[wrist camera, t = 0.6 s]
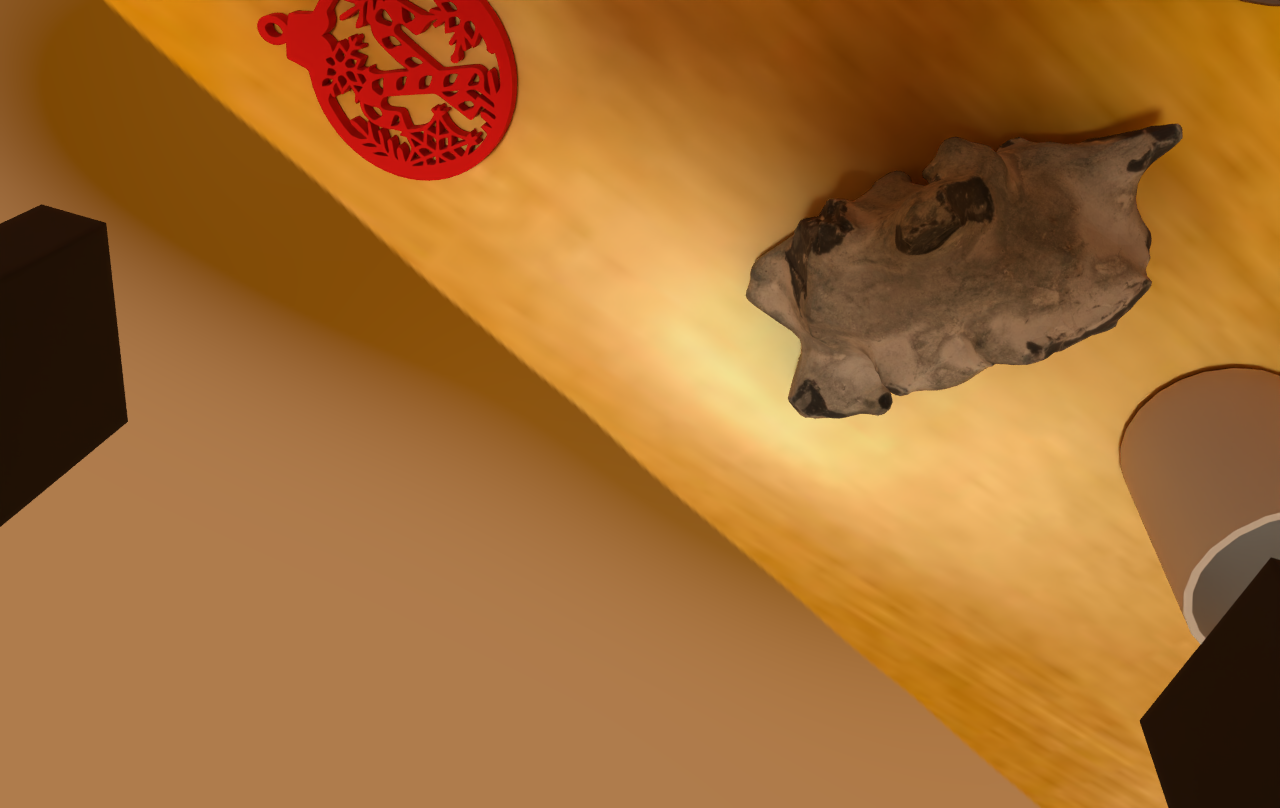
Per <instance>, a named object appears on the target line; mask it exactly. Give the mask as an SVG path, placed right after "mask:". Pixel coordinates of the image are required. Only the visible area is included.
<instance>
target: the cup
mask: <svg viewBox="0 0 1280 808" xmlns="http://www.w3.org/2000/svg"><path fill="white" fill-rule="evenodd" d="M1120 459H1121V470H1122V473H1123V476H1124V479H1125V482H1126V484H1127V487H1128V489H1129V491H1130V494H1131V496H1132V499H1133V501H1134V503H1135V506H1136V508H1137V510H1138V512H1139V515H1140V517H1141V519H1142V522H1143V524H1144V526H1145V528H1146V531H1147V533H1148V535H1149V538H1150V540H1151V542H1152V545H1153V547H1154V549H1155V551H1156V554H1157V556H1158V558H1159V561H1160V563H1161V565H1162V568H1163V570H1164V572H1165V574H1166V577H1167V579H1168V581H1169V584H1170V586H1171V588H1172V591H1173V593H1174V595H1175V597H1176V600H1177V602H1178V604H1179V607H1180V609H1181V611H1182V613H1183V616H1184V618H1185V620H1186V623H1187V625H1188V627H1189V630H1190V632H1191V634H1192V635H1193V636H1194V637H1195V638H1196V640H1197V641H1198V642H1199V643H1200V644H1202V642H1203V641H1204V640H1205V639H1206V637H1207V636H1208V635H1209V634H1210V632H1211V631H1212V630H1213V629H1214V627H1215V626H1216V625H1217V624H1218V622H1219V621H1220V620H1221V619H1222V617H1223V616H1224V615H1225V614H1226V612H1227V611H1228V610H1229V609H1230V607H1231V606H1232V605H1233V604H1234V602H1235V601H1236V600H1237V599H1238V597H1239V596H1240V595H1241V594H1242V593H1243V591H1244V590H1245V589H1246V588H1247V586H1248V585H1249V584H1250V583H1251V581H1252V580H1253V579H1254V578H1255V576H1256V575H1257V574H1258V573H1259V571H1260V570H1261V569H1262V568H1263V566H1264V565H1265V564H1266V563H1267V561H1268V560H1269V559H1270V558H1271V557H1272V558H1276V559H1279V560H1280V376H1279V375H1276V374H1273V373H1270V372H1267V371H1264V370H1255V369H1242V368H1231V369H1223V370H1215V371H1207V372H1202V373H1199V374H1197V375H1194V376H1191V377H1188V378H1185V379H1182V380H1179V381H1178V382H1176V383H1174V384H1172V385H1170V386H1169V387H1167V388H1165V389H1163V390H1162V391H1160V392H1158V393H1157V394H1156V395H1155V396H1154V397H1153V398H1152V399H1151V400H1149V401H1148V402H1147V403H1146V404H1145V405H1144V406H1143V407H1142V408H1141V409H1140V410H1139V411H1138V412H1137V414H1136V415H1135V417H1134V418H1133V420H1132V421H1131V423H1130V424H1129V426H1128V427H1127V429H1126V431H1125V435H1124V438H1123V441H1122V444H1121V447H1120Z"/></svg>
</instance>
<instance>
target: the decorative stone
mask: <svg viewBox="0 0 1280 808" xmlns="http://www.w3.org/2000/svg"><path fill="white" fill-rule="evenodd" d="M1181 139H1182V127H1181V126H1180V125H1179V124H1168V125H1161V126H1150V127H1147V128H1144V129H1141V130H1136V131H1131V132H1126V133H1122V134H1117V135H1112V136H1107V137H1101V138H1094V139H1088V140H1085V141H1083V142H1081V143H1078V144H1061V143H1055V142H1040V143H1035V142H1031V141H1028V140H1026V139H1024V138H1020V137H1018V138H1014V139H1010V140H1008V141H1007V142H1005V143H1004V144H1003V145H1001V146H1000V147H999V149H998V150H997V152H995V151H994V150H993V149H992V148H991V147H990V146H987V145H983V144H978V143H974V142H970V141H967V140H964V139H961V138H958V137H952V138H949V139H946V140H944V142H943V143H942V144H941V145H940V147H939V150H938V152H937V154H936V156H935V158H934V159H933V161H932V162H931V163H930V164H929V165H928V166H927V167H926V168H925V169H924V171H923V173H922V175H923V178H924V179H926V180H927V181H928V183H929V184H928V185H920V184H914V183H912V182H911V179H910V177H909V176H908V175H907V174H906V173H904V172H902V171H895V172H892V173H889V174H887V175H885V176H884V177H882V178H881V179H879V180H878V181H876V182H875V184H874V185H873V188H872V189H870V190H869V191H868V192H866V193H865V194H864V195H863V196H861V197H859V198H858V199H856V200H855V201H849V200H845V199H830V198H829V200H828V201H827V202H826V204H825V206H824V207H823V209H822V211H821V213H820V214H819V216H817V217H811V218H805V219H803V220H801V221H800V222H799V224H798V226H797V228H796V230H795V232H794V234H793V235H792V236H791V237H789V238H788V239H787V240H785V241H784V242H782V243H781V244H779V245H778V246H776V247H774V248H773V249H771V250H770V251H768V252H766V253H765V254H763V255H762V256H761V257H760V258H759V259H758V260H757V261H756V262H755V263H754V265H753V266H752V269H751V278H750V283H749V286H748V289H747V291H746V297H747V299H748V300H749V301H750V302H751V303H752V304H754V305H755V306H756V307H757V308H759V309H760V310H762V311H763V312H765V313H766V314H768V315H769V316H770V317H772V318H773V319H775V320H776V321H778V322H779V323H780V324H782V325H783V326H785V327H787V328H788V329H790V330H791V331H792V332H793V333H794V334H795V335H796V336H797V337H798V338H799V339H800V341H801V356H800V357H799V362H798V365H797V368H796V371H795V374H794V377H793V381H792V384H791V388H790V392H789V396H788V400H789V402H790V403H791V404H792V406H793V407H794V408H795V409H796V410H797V412H798V413H799V414H800V415H802V416H803V417H805V418H806V417H810V418H845V417H849V416H853V415H857V414H872V415H882V414H885V413H886V412H887V411H888V410H889V409H890V407H891V405H892V396H891V393H893V394H895V395H898V396H903V395H908V394H910V393H911V392H914V391H923V390H942V389H947V388H951V387H954V386H957V385H959V384H962V383H964V382H966V381H968V380H969V379H971V378H972V377H974V376H975V375H977V374H978V373H980V372H981V371H983V370H984V369H986V368H987V367H991V366H993V365H994V364H1009V365H1028V364H1032V363H1036V362H1039V361H1041V360H1044V359H1046V358H1048V357H1049V356H1050V355H1052V354H1053V353H1055V352H1058V351H1062V350H1064V349H1066V348H1068V347H1070V346H1072V345H1074V344H1076V343H1078V342H1080V341H1082V340H1084V339H1086V338H1088V337H1090V336H1091V335H1095V334H1099V333H1102V332H1105V331H1108V330H1110V329H1112V328H1113V327H1115V326H1116V324H1117V321H1118V320H1119V319H1120V318H1121V317H1122V316H1123V315H1124V314H1125V313H1127V312H1128V311H1129V310H1130V309H1131V308H1132V307H1133V306H1134V304H1135V303H1136V302H1137V301H1138V300H1139V299H1140V298H1141V297H1142V296H1143V295H1144V294H1145V293H1146V292H1147V291H1148V289H1149V288H1150V286H1151V284H1152V281H1151V280H1150V279H1149V278H1148V277H1147V273H1146V267H1147V264H1148V262H1149V260H1150V254H1149V249H1150V246H1151V233H1150V231H1149V229H1148V228H1147V226H1146V225H1145V223H1144V222H1143V220H1142V218H1141V216H1140V213H1139V211H1138V209H1137V204H1136V193H1137V184H1138V182H1139V180H1140V178H1141V176H1142V175H1143V173H1144V172H1145V171H1146V169H1147V168H1148V167H1149V166H1150V165H1151V164H1152V163H1153V162H1154V161H1155V160H1157V159H1158V158H1160V157H1161V156H1162V155H1164V154H1165V153H1166V152H1168V151H1169V150H1170V149H1172V148H1173V147H1174V146H1175V145H1176V144H1177V143H1178V142H1179V141H1180V140H1181Z"/></svg>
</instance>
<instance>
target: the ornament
mask: <svg viewBox="0 0 1280 808" xmlns="http://www.w3.org/2000/svg"><path fill="white" fill-rule="evenodd" d="M338 1H339V0H319V1H318V3H317V5H316V7H315V9H314V11H300V10H298V11H295V12H292V13H289V14H288V16H287V15H285V14H282V13H272V14H269V15H266V16H263V17H261V18H260V19H259V21H258V24H257V28H258V31H259V34H260V35H261V37H262V38H263V39H264V40H265V41H267V42H269V43H271V44H273V45H282V44H285V43H286V52H287V58H288V59H289V60H291V61H293V62H295V63H297V64H299V65H301V66H303V67H304V68H306V69H307V70H308V71H309V74H310V78H311V82H312V85H313V88H314V91H315V94H316V97H317V99H318V102H319V104H320V106H321V108H322V110H323V112H324V114H325V115H326V117H327V119H328V120H329V122H330V123H331V125H332V126H333V128H334V129H335V130H336V132H337V133H338V134H339V135H340V137H341V138H342V139H343V140H344V141H345V142H346V143H347V144H348V145H349V146H350V147H351V148H352V149H353V150H354V151H355V152H356V153H358V154H359V155H360V156H361V157H363V158H364V159H365V160H367V161H368V162H370V163H372V164H373V165H375V166H377V167H379V168H381V169H382V170H384V171H387V172H389V173H392V174H394V175H397V176H401V177H404V178H408V179H415V180H428V181H430V180H441V179H446V178H450V177H453V176H456V175H459V174H461V173H463V172H466V171H468V170H469V169H471V168H473V167H474V166H476V165H477V164H478V163H479V162H481V161H482V160H483V159H484V158H485V157H487V156H488V155H489V154H490V153H491V152H492V151H493V150H494V148H495V147H496V146H497V145H498V143H499V142H500V141H501V139H502V138H503V136H504V134H505V133H506V131H507V129H508V126H509V124H510V122H511V119H512V115H513V112H514V108H515V102H516V96H517V73H516V64H515V59H514V54H513V51H512V47H511V44H510V41H509V38H508V36H507V34H506V31H505V29H504V27H503V25H502V23H501V21H500V20H499V18H498V16H497V14H496V13H495V11H494V10H493V8H492V7H491V6H490V4H489V3H488V1H487V0H434V2H435V3H436V4H437V7H434V8H432V9H430V10H429V12H426V11H425V10H423V9H421V8H420V7H418V6H416V5H414V4H413V3H411V2H409V1H408V0H345V1H348V2H351V3H354V4H355V6H354V7H352V8H350V9H349V10H347V11H346V12H344V13H343V14H342V15H340V20H346V19H348V18H351V17H352V16H353V15H355V14H356V13H357V12H359V17H358V20H357V22H356V28H361V27H363V26H366V25H368V24H370V25H371V30H372V33H373V36H374V37H375V39H376V40H377V42H378V43H379V44H380V45H381V46H382V47H383V48H384V49H385V50H386V51H387V52H388V53H389V54H390V55H391V56H392V57H393V58H394V59H395V60H396V61H397V62H399V63H400V64H401V65H402V66H404V67H405V68H406V69H396V70H389V71H381V70H378V69H377V68H376V64H374V65H372V66H370V67H366V66H364V64H365V62H366V59H367V57H368V56H367V55H364V54H362V53H359V52H357V51H358V50H360V49H362V48H364V47H367V46H368V43H362V40H363V38H364V35H363V33H362V34H360V35H358V34H355V35H352V36H350V37H348V41H349V42H348V41H347V39H344V40H341V41H339V42H337V40H336V39H335V38H334V37H333V36H332V35H331V34H330V33H329V32H330V31H331V30H332V29H333V28H334V26H335V24H336V15H335V12H334V8H335V6H336V4H337V2H338ZM448 2H452V3H453V4H454V5H455V6H456V7H457V10H453V9H452V8H451V6H450V5H449V3H448ZM383 10H385V11H386V12H387V13H388V14H389V16H390V18H391V19H392V22H390V21H386V20H385V19H383V17H382V12H383ZM408 11H410V12H411V13H412V14H414V17H415V19H413V20H411V19H410V17H409V12H408ZM454 17H458V18H459V19H460V24H458V25H455V19H454ZM433 20H437V21H435V22H434V23H433V26H434V27H435V28H436V27H438V26H440V25H442V24H443V23H445V33H450V32H455V33H454V35H453V37H452V38H451V40H450V41H449V44H450V45H451V46H452V45H453V44H455V43H456V46H455V51H454V53H453V55H452V56H451V61H452V62H453V63H457V62H459V61H461V60H462V59H463V58H464V51H466V50H468V49H470V48H471V47H473V48H474V47H476V46H478V45H479V43H480V41H481V38H483V39H484V41H485V43H486V46H487V51H488V52H489V53H491V54H494V53H495V55H496V58H497V62H498V66H499V72H500V82H499V78H498V73H497V70H496V69H495V68H492V69H491V70H489V71H488V70H487V68H486V67H485V66H483V65H480V64H473V65H463V66H453V67H443V66H442V65H441V64H440V63H438V62H437V61H436V60H435V59H434V58H433V57H431V56H430V55H429V54H428V53H427V52H426V51H424V50H423V49H422V48H421V47H420V46H419V45H417V44H416V43H415V42H414V41H413V40H412V39H411V38H409V37H408V36H407V35H406V34H405V33H404V32H403V31H402V30H401V28H400V25H401V24H402V25H404V26H405V27H406V28H408V29H409V30H410V31H411V32H412V33H413V34H415V35H419V34H421V33H423V32H425V31H426V30H427V29H428V28H429V26H430V24H431V23H432V21H433ZM470 21H471V22H472V23H473V24H474V26H475V33H474V31H473V30H472V29H471V27H470V24H469V23H470ZM273 23H274V24H277V25H278V26H279V27H280V28H281V29H282V31H283V33H282V34H279V33H278V32H277V31H276V30H275V29H274V27H273ZM389 36H393V37H395V38H396V39H397V40H398V41H399V42H400V43H401V45H399V46H395V45H393V44H392V43H391V42H390V40H389ZM343 53H344V54H345V57H344V56H343ZM411 57H416V58H418V59H420V60H421V61H422V62H423V63H422V64H416V63H414V62H413V61H412V60H411ZM352 59H354V60H357V62H356V64H353V62H352ZM334 70H335V71H336V72H334ZM450 74H458V76H457V78H456V80H455V82H454V83H452V84H450V83H449V76H450ZM477 74H478V75H479V78H480V81H479V82H474V81H473V80H474V78H475V77H476V75H477ZM427 75H429V76H432V80H431V83H430V85H429V86H426V85H425V77H426V76H427ZM403 76H406V77H407V79H406V82H405V85H404V86H403V83H402V80H403ZM382 77H383V89H382V88H381V87H380V86H379V84H378V81H379V79H380V78H382ZM329 79H333V80H332V83H329ZM351 88H352V89H353V91H354V93H355V102H356V104H357V103H359V102H360V106H361V109H362V111H363V113H364V115H365V116H366V117H367V118H368V119H369V121H368V123H367V122H366V121H365V120H364V119H363V118H361V117H360V116H357V117H355V118H353V119H352V120H350V121H349V119H348V118H347V117H346V115H345V113H344V112H343V110H342V109H341V107H340V105H339V103H338V102H337V100H336V96H338V95H340V94H341V93H342V94H344V93H346V92H348V91H349V90H350V89H351ZM474 90H476V91H479V92H480V93H482V94H481V95H479V94H478V93H477V92H475V91H474ZM451 91H458V92H457V93H452V92H451ZM415 94H437V95H438V96H440V97H441V98H442V99H444V100H445V101H446V102H448V103H449V104H450V105H452V106H453V107H454V108H455V109H457V110H458V111H459V112H460V113H462V114H463V115H464V116H465V117H467V118H468V119H470V120H472V119H473V118H474V117H476V116H477V115H478V114H479V112H480V111H481V109H482V108H485V109H484V110H482V111H481V112H480V113H481V117H482V118H483V119H484V120H485V121H486V123H485V124H484V125H483V126H481V128H482V129H483V130H484V131H485V132H486V133H487V136H486V138H485V139H484V141H483V139H482V138H481V137H480V136H481V135H482V134H483V133H482V132H479V133H477V131H476V129H474V130H473V131H471V132H467V131H464V130H462V129H461V128H459V127H458V126H457V125H456V124H455V123H454V122H453V121H452V119H451V118H450V116H449V114H448V111H449V110H450V109H451V107H446V105H445V103H443V104H442V105H439V104H438V105H436V106H435V107H433V108H432V109H431V111H432V112H433V113H434V116H433V118H432V119H431V121H430V122H429V123H426V124H423V125H413V123H412V121H411V118H410V116H409V113H408V110H407V109H406V108H404V107H394V106H390V105H389V104H388V102H387V98H388V96H400V95H415ZM465 101H472V102H473V103H474V106H472V107H468V106H467V105H465V104H464V102H465ZM372 107H377V108H379V109H380V110H381V112H382V116H379V115H378V114H377V113H376V112H375V111H374V109H373V108H372ZM398 117H399V118H400V122H397V120H398ZM435 122H436V127H435V126H433V125H434V123H435ZM378 126H380V127H383V128H382V129H380V130H379V127H378ZM445 128H446V129H447V131H445ZM388 129H395V130H399V131H402V133H401V134H400V136H405V137H407V139H408V141H409V143H410V145H411V152H410V151H409V148H408V145H407V144H406V143H405V142H404V143H403V144H401V145H400V146H399V139H398V137H397V136H396V135H394V136H393V137H392V138H390V134H389V131H388ZM420 131H424V134H422V133H421V132H420ZM432 137H434V138H435V139H436V143H435V142H434V141H433V138H432ZM457 137H458V138H461V139H463V140H461V141H458V142H457ZM444 138H448V145H447V146H445V141H444ZM482 141H483V142H482ZM481 142H482V143H481ZM480 143H481V145H480V146H479V147H478V148H477V149H476V150H474V151H473V148H474V145H478V144H480ZM467 144H468V145H467ZM464 145H467V148H466V150H465V151H464V150H463V149H462V148H461V146H464ZM426 148H427V149H429V150H430V151H431V152H429V151H428V150H427V149H426ZM450 152H451V153H452V154H451V153H450ZM417 154H418V155H419V156H418V157H417V156H416V155H417ZM432 157H436V160H433V159H432Z"/></svg>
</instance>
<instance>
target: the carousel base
mask: <svg viewBox="0 0 1280 808" xmlns="http://www.w3.org/2000/svg"><path fill="white" fill-rule="evenodd" d="M1240 1H1243V2H1249V3H1255V4H1260V5H1266V6H1280V0H1240Z"/></svg>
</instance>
